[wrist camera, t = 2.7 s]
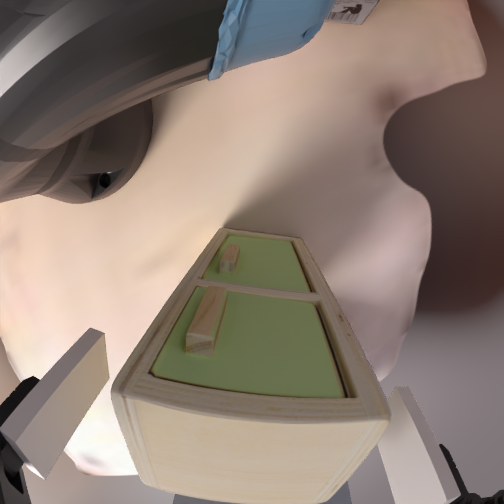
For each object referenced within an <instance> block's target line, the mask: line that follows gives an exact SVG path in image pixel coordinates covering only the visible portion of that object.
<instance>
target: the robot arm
mask: <svg viewBox="0 0 504 504" xmlns="http://www.w3.org/2000/svg"><path fill="white" fill-rule="evenodd" d="M335 1H336V0H0V203H1V202H5V201H9V200H14V199H18V198H22V197H26V196H31V195H35V194H40V195H43V196H46V197H50V198H53V199H56V200H60V201H63V202H67V203H72V204H82V203H88V202H92V201H96V200H100V199H103V198H105V197H108V196H110V195H111V194H113V193H115V192H116V191H117V190H119V189H120V188H121V187H122V186H123V185H125V184H126V183H127V182H128V180H129V179H130V178H131V177H132V176H133V174H134V173H135V171H136V170H137V168H138V167H139V165H140V163H141V161H142V160H143V158H144V155H145V153H146V150H147V148H148V144H149V141H150V137H151V132H152V123H153V112H152V104H151V100H150V98H152V97H155V96H157V95H160V94H163V93H165V92H168V91H170V90H173V89H176V88H179V87H182V86H185V85H187V84H190V83H193V82H197V81H200V80H203V79H206V78H207V79H208V80H209V81H211V80H215V79H217V78H219V77H221V76H222V74H223V73H224V72H227V71H230V70H232V69H235V68H238V67H242V66H245V65H248V64H251V63H255V62H258V61H262V60H266V59H270V58H275V57H279V56H283V55H286V54H289V53H292V52H294V51H296V50H298V49H300V48H301V47H303V46H304V45H305V44H307V43H308V42H309V41H310V40H311V39H312V38H313V37H314V36H315V34H316V33H317V32H318V31H319V30H320V28H321V27H322V24H323V22H324V20H325V18H326V17H327V16H328V15H329V13H330V12H331V10H332V8H333V6H334V4H335ZM109 378H110V377H109V370H108V362H107V353H106V343H105V333H103V332H101V331H98V330H95V329H93V328H89V329H88V330H87V331H86V332H85V333H84V334H83V335H82V336H81V337H80V338H79V340H78V341H77V342H76V343H75V344H74V345H73V346H72V347H71V348H70V349H69V350H68V351H67V352H66V353H65V354H64V355H63V356H62V357H61V358H60V359H59V360H58V362H57V363H56V364H55V365H54V366H53V367H52V368H51V369H50V370H49V371H48V372H47V373H46V375H45V376H44V377H43V378H42V379H41V380H39V379H37V378H36V377H34V376H32V377H29V378H27V379H25V380H23V381H22V382H21V383H20V384H19V385H18V386H17V388H16V389H15V391H13V392H12V393H11V394H10V396H9V397H8V398H6V400H5V401H4V402H3V403H2V404H1V405H0V504H31V501H30V497H29V494H28V490H27V486H26V482H25V478H24V473H23V470H22V467H21V466H22V465H23V463H25V465H26V466H27V467H28V468H29V469H30V470H31V471H32V472H34V473H35V474H37V475H38V476H40V477H42V478H43V479H44V480H46V478H47V476H48V475H49V473H50V471H51V470H52V468H53V466H54V464H55V463H56V461H57V459H58V458H59V456H60V454H61V453H62V451H63V450H64V448H65V446H66V445H67V443H68V441H69V440H70V438H71V436H72V435H73V433H74V432H75V430H76V428H77V427H78V425H79V424H80V422H81V421H82V419H83V417H84V416H85V414H86V413H87V411H88V410H89V408H90V407H91V405H92V404H93V402H94V401H95V399H96V397H97V396H98V394H99V393H100V391H101V390H102V388H103V387H104V385H105V384H106V383H107V381H108V380H109ZM387 401H388V403H389V406H390V409H391V412H392V417H391V421H390V423H389V426H388V428H387V429H386V431H385V433H384V434H383V436H382V437H381V439H380V440H379V442H378V443H377V445H378V448H379V451H380V454H381V457H382V460H383V464H384V467H385V470H386V473H387V476H388V480H389V483H390V487H391V490H392V494H393V497H394V501H395V504H504V490H500V491H498V492H497V493H496V494H495V495H493V496H492V497H486V498H481V497H480V496H479V495H477V494H476V493H470V494H469V493H468V491H467V489H466V487H465V485H464V482H463V480H462V478H461V476H460V474H459V471H458V469H457V468H456V465H455V463H454V462H453V459H452V457H451V455H450V452H449V451H448V450H447V449H446V448H445V447H444V446H443V445H442V444H439V445H438V443H437V440H436V438H435V436H434V434H433V432H432V430H431V429H430V426H429V424H428V423H427V421H426V419H425V417H424V415H423V414H422V411H421V409H420V407H419V405H418V404H417V402H416V400H415V398H414V397H413V394H412V393H411V391H410V389H409V387H395V389H394V391H393V392H392V394H391V395H390V397H389V398H388V400H387Z"/></svg>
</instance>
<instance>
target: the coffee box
mask: <svg viewBox="0 0 504 504" xmlns="http://www.w3.org/2000/svg"><path fill="white" fill-rule="evenodd" d="M378 2H379V0H336V1H335V4H334V6H333V8H332V10H331V12H330V13H329V15H328V16H327V17H326V18H325V20H324V22H339V23H350V24H359V25H361V24H362V23H363V22H364V20H365V19H366V18H367V16H368V15H369V13H370V12H371V11H372V10H373V8H374V7H375V6H376V4H377V3H378Z"/></svg>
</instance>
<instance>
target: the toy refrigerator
mask: <svg viewBox="0 0 504 504" xmlns="http://www.w3.org/2000/svg"><path fill="white" fill-rule="evenodd" d="M111 400H112V403H113V407H114V411H115V414H116V417H117V420H118V423H119V426H120V429H121V431H122V434H123V437H124V439H125V442H126V444H127V447H128V450H129V453H130V455H131V458H132V460H133V462H134V465H135V467H136V469H137V472H138V474H139V476H140V478H141V480H142V481H143V483H144V484H146V485H148V486H151V487H154V488H157V489H160V490H163V491H167V492H171V493H175V494H179V495H184V496H189V497H194V498H200V499H206V500H213V501H220V502H229V503H240V504H318V503H323V502H326V501H328V500H329V499H330V498H331V497H332V496H333V495H334V494H335V493H336V492H337V491H338V490H339V489H340V488H341V487H342V485H343V484H344V483H345V482H346V481H347V480H348V479H349V478H350V476H351V475H352V474H353V473H354V472H355V471H356V469H357V468H358V467H359V466H360V465H361V463H362V462H363V461H364V460H365V458H366V457H367V456H368V455H369V453H370V452H371V451H372V450H373V448H374V447H375V446H376V444H377V443H378V442H379V440H380V439H381V437H382V436H383V434H384V433H385V431H386V429H387V428H388V426H389V423H390V421H391V417H392V412H391V409H390V406H389V403H388V401H387V399H386V396H385V394H384V392H383V390H382V388H381V386H380V384H379V381H378V379H377V377H376V375H375V373H374V371H373V369H372V367H371V365H370V363H369V361H368V360H367V358H366V356H365V354H364V352H363V350H362V347H361V345H360V343H359V342H358V340H357V338H356V336H355V334H354V332H353V330H352V328H351V326H350V324H349V323H348V321H347V319H346V317H345V315H344V314H343V312H342V310H341V308H340V306H339V304H338V302H337V301H336V299H335V297H334V295H333V293H332V291H331V289H330V287H329V286H328V284H327V282H326V280H325V278H324V277H323V275H322V273H321V271H320V269H319V267H318V266H317V264H316V262H315V260H314V259H313V257H312V255H311V253H310V252H309V250H308V248H307V246H306V245H305V243H304V242H303V240H302V239H301V238H295V237H288V236H281V235H273V234H266V233H258V232H250V231H243V230H235V229H227V228H220V229H219V230H218V231H217V232H216V234H215V235H214V237H213V238H212V239H211V241H210V242H209V244H208V245H207V246H206V248H205V249H204V250H203V252H202V253H201V254H200V256H199V257H198V259H197V260H196V262H195V263H194V264H193V266H192V267H191V268H190V270H189V271H188V273H187V274H186V275H185V277H184V278H183V280H182V281H181V282H180V283H179V285H178V286H177V288H176V289H175V290H174V292H173V293H172V295H171V296H170V297H169V299H168V300H167V302H166V303H165V304H164V306H163V307H162V309H161V310H160V312H159V313H158V315H157V316H156V318H155V319H154V321H153V322H152V324H151V325H150V327H149V328H148V330H147V331H146V333H145V334H144V336H143V337H142V339H141V340H140V342H139V343H138V344H137V346H136V347H135V349H134V350H133V352H132V353H131V355H130V356H129V358H128V359H127V361H126V363H125V364H124V366H123V367H122V369H121V370H120V372H119V373H118V375H117V377H116V378H115V380H114V382H113V384H112V388H111Z"/></svg>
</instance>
